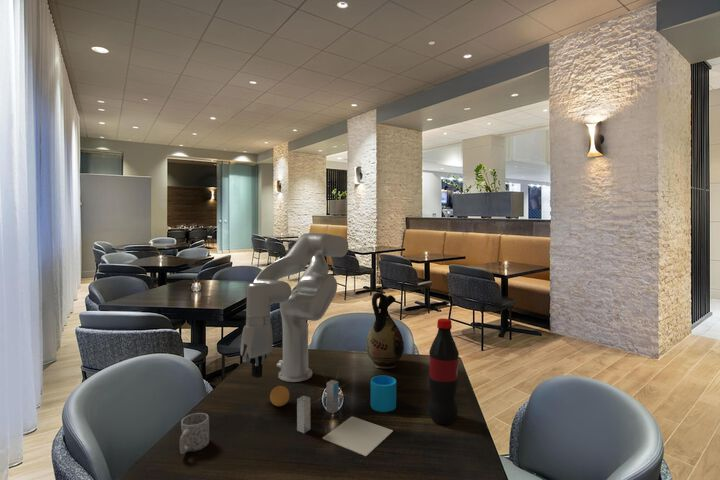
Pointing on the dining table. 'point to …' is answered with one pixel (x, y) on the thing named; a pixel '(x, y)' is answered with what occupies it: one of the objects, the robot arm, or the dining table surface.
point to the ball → (279, 396)
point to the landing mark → (358, 435)
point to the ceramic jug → (384, 335)
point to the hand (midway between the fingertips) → (256, 376)
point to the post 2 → (332, 396)
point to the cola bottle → (443, 375)
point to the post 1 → (303, 414)
